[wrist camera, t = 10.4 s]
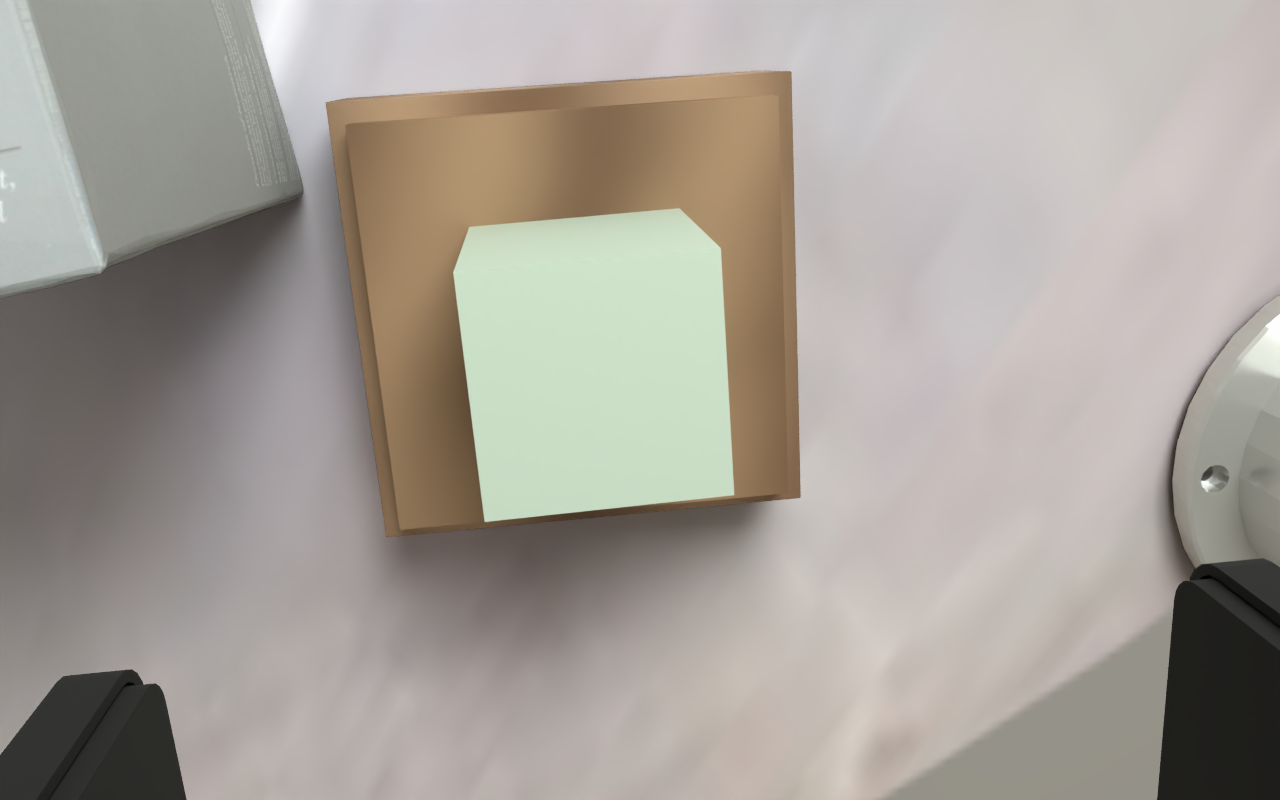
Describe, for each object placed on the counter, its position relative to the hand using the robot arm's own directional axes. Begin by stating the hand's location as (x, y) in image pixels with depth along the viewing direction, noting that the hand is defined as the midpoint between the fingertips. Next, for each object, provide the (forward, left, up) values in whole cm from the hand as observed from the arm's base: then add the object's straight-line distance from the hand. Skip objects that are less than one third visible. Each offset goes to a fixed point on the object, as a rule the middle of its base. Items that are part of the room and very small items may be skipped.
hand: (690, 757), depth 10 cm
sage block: (0, 0, -18) cm, 18 cm away
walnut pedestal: (0, 0, -22) cm, 22 cm away
